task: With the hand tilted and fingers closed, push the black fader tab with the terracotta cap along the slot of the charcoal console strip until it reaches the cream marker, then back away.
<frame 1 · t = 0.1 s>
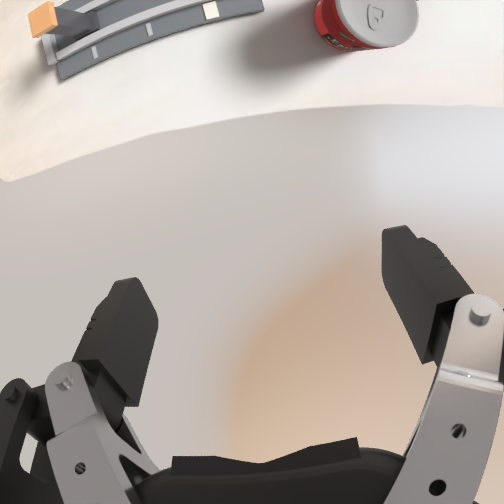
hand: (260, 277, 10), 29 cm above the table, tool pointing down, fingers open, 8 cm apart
canned food: (344, 20, 28), on the table
fader tab: (66, 22, 22), point 7 cm above the table, slide at -7.0 cm
console: (145, 3, 26), on the table
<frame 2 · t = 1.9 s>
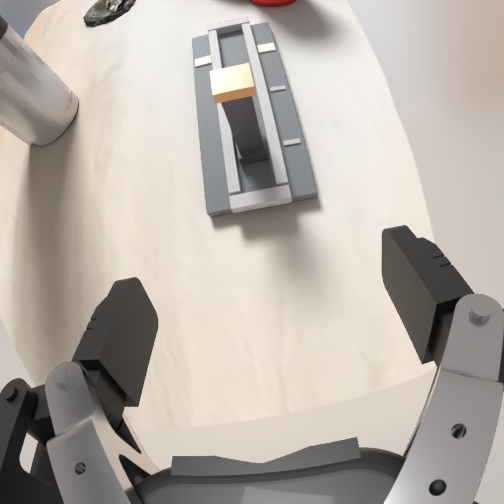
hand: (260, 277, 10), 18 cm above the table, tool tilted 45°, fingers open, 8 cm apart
fader tab: (243, 118, 24), point 7 cm above the table, slide at -7.0 cm
console: (244, 102, 32), on the table
grey rough oval piece: (112, 9, 42), on the table
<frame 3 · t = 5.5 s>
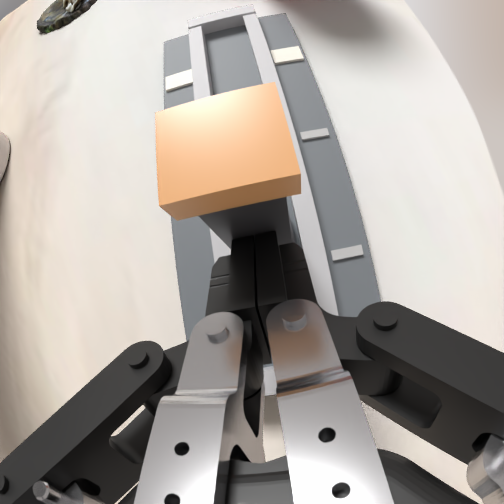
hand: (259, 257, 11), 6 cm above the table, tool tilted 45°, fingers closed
fader tab: (254, 215, 11), point 6 cm above the table, slide at -6.0 cm, touching gripper
console: (252, 157, 19), on the table
grey rough oval piece: (73, 9, 29), on the table
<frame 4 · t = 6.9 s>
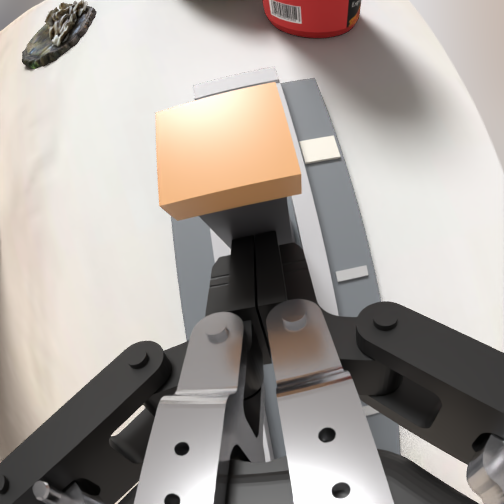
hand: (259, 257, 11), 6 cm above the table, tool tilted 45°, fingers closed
canned food: (312, 16, 21), on the table
fader tab: (254, 215, 11), point 6 cm above the table, slide at 2.1 cm, touching gripper
console: (278, 291, 17), on the table
grey rough oval piece: (61, 38, 28), on the table
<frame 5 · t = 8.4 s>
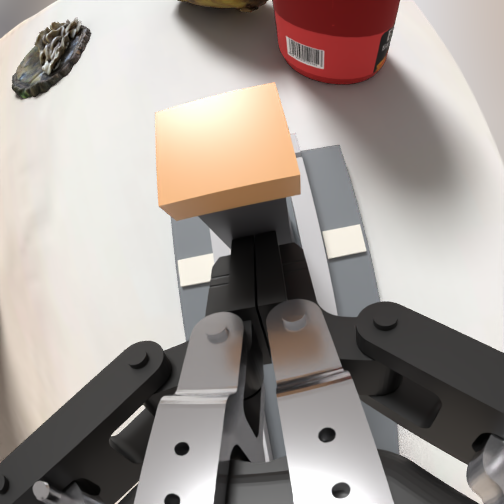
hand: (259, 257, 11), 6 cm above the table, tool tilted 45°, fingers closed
canned food: (332, 53, 20), on the table
potato: (226, 8, 23), on the table
fader tab: (254, 214, 11), point 7 cm above the table, slide at 7.5 cm, touching gripper
console: (294, 388, 16), on the table
grey rough oval piece: (54, 62, 26), on the table
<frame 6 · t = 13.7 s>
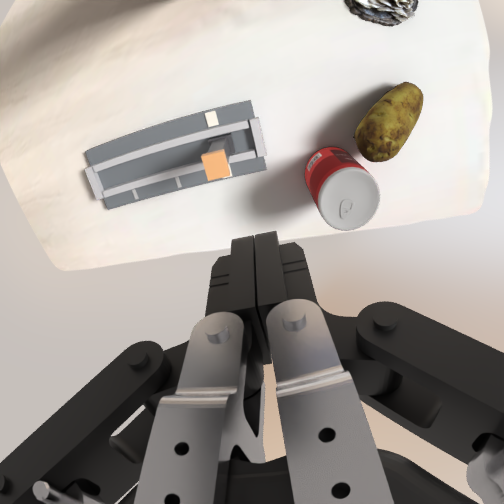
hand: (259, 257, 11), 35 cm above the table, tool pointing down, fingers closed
canned food: (328, 171, 45), on the table
potato: (381, 116, 41), on the table
fader tab: (219, 153, 37), point 7 cm above the table, slide at 7.5 cm
console: (172, 155, 43), on the table
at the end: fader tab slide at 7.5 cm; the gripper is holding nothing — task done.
